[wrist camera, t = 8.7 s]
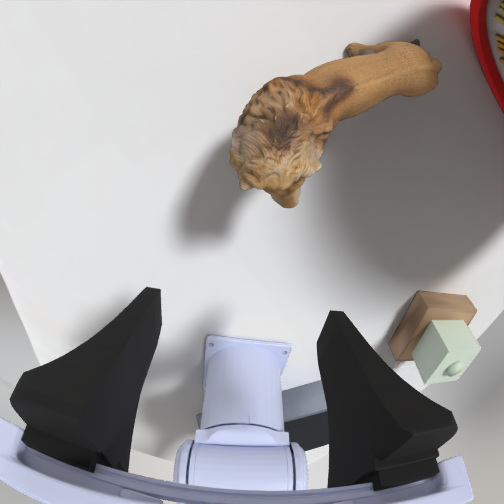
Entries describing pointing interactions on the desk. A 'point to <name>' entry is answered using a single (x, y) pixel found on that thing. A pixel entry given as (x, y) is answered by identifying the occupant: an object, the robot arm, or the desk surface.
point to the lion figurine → (320, 112)
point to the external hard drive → (304, 415)
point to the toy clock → (490, 42)
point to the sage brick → (445, 351)
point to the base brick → (428, 319)
